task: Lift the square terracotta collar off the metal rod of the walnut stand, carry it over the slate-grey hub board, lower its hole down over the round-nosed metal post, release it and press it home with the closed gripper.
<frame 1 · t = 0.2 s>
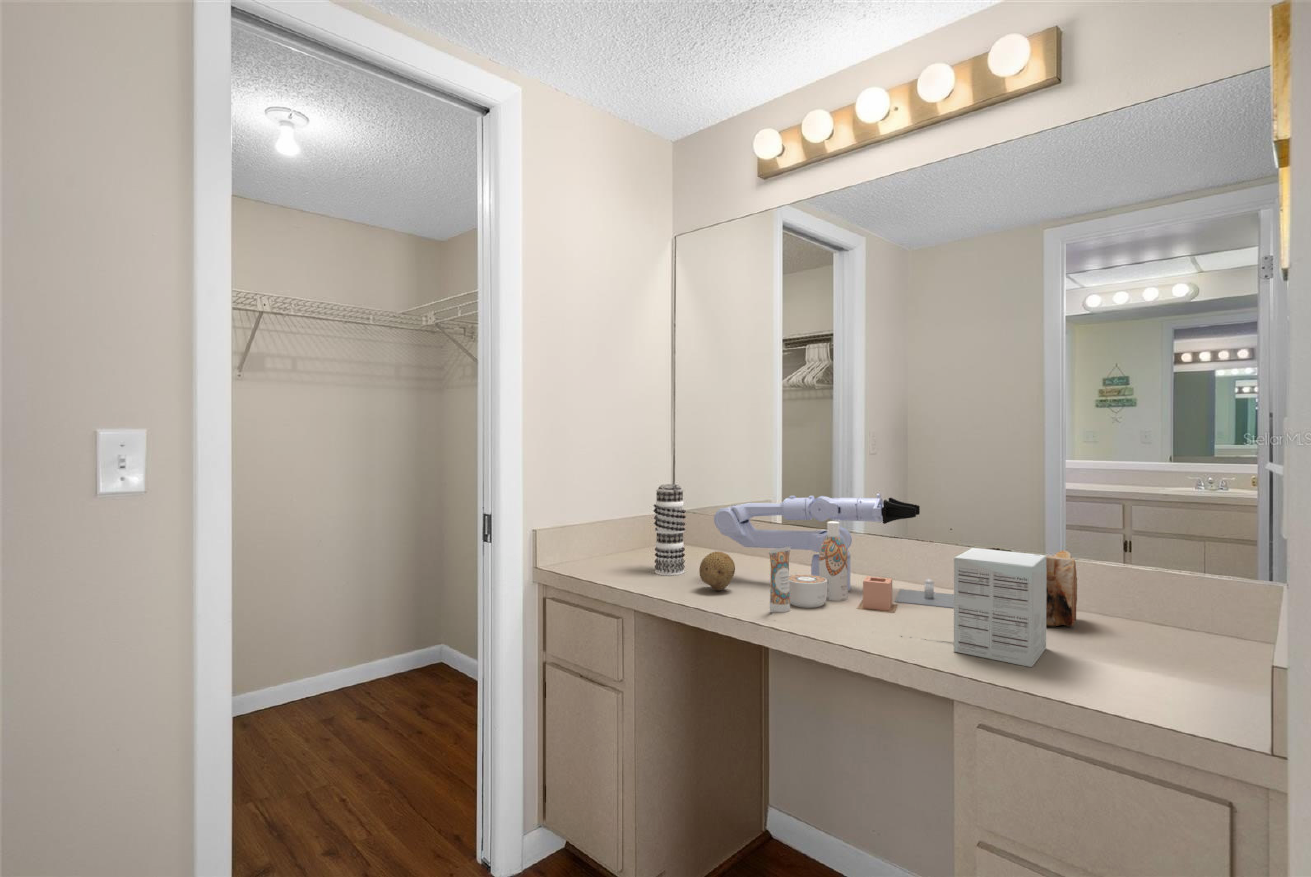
hand: (917, 511, 159), 21 cm above the counter, fingers open, 7 cm apart
decorative candle: (669, 573, 190), on the counter
stone: (1055, 624, 139), on the counter
hub board: (929, 602, 157), on the counter
walnut stand: (877, 609, 150), on the counter
terracotta collar: (877, 606, 150), point 1 cm above the counter, touching walnut stand
supplement box: (999, 651, 123), on the counter
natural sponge: (716, 591, 168), on the counter
cosmetic set: (807, 607, 153), on the counter
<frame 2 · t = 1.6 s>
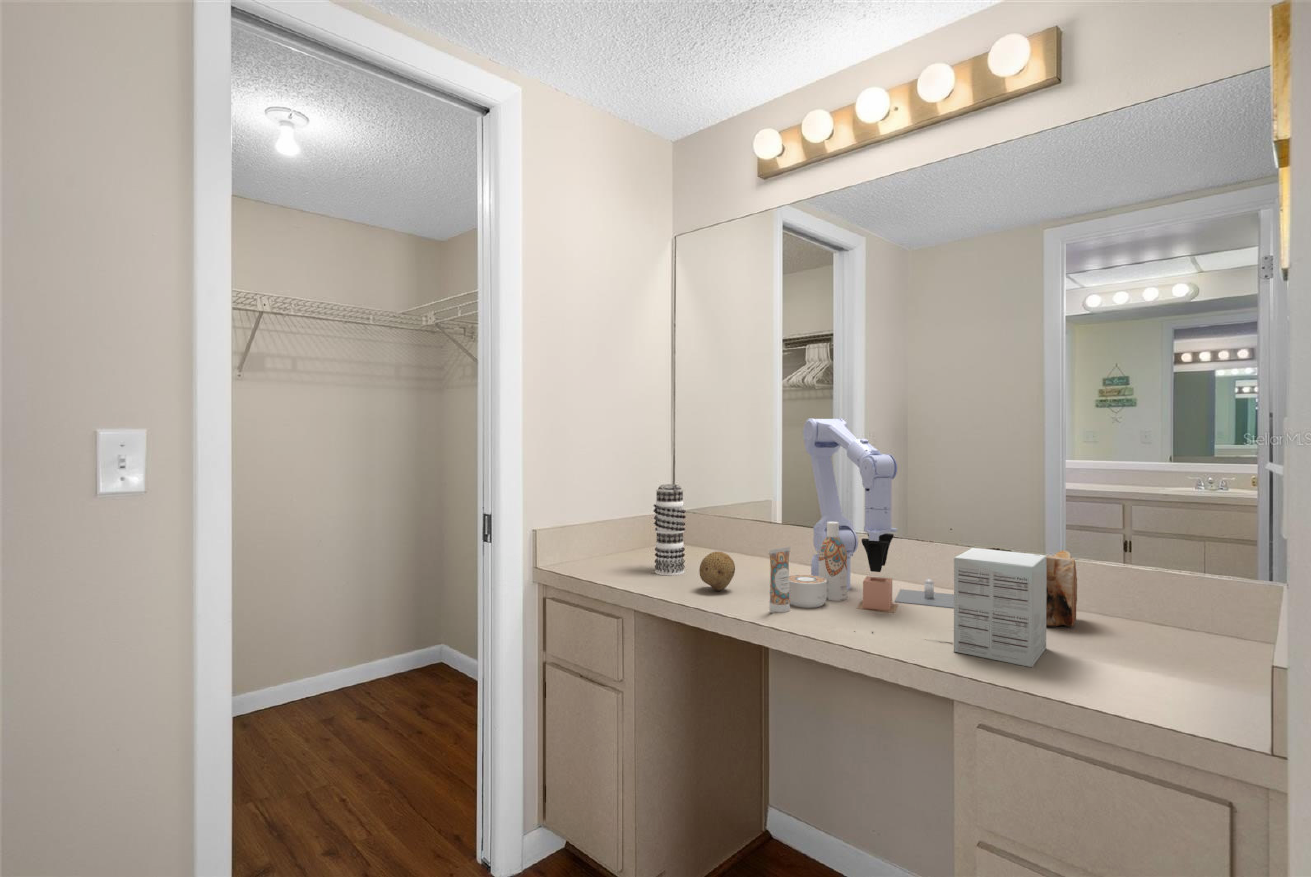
hand: (877, 568, 150), 9 cm above the counter, fingers open, 7 cm apart
nothing on the counter moved.
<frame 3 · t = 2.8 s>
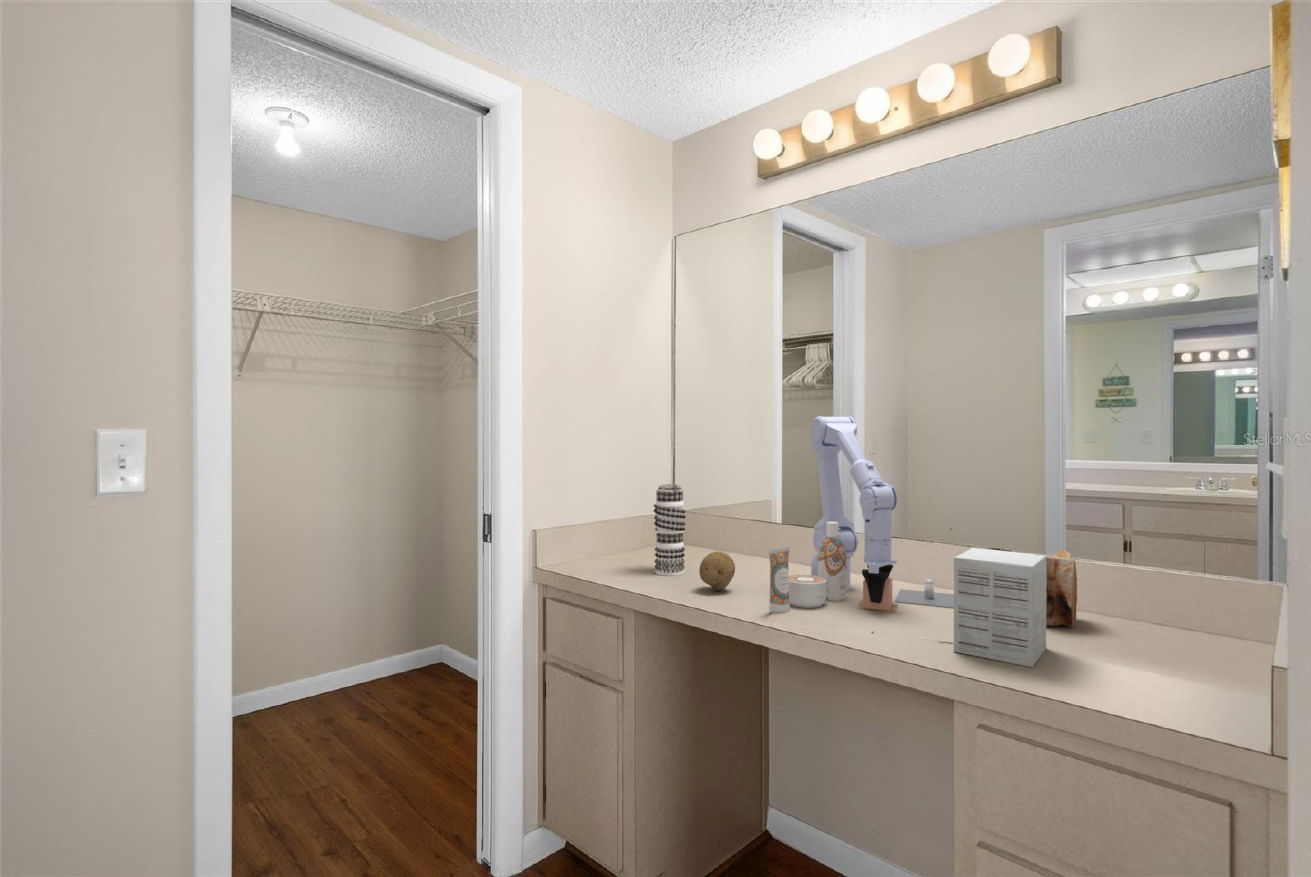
hand: (877, 599, 150), 2 cm above the counter, fingers closed on terracotta collar, 6 cm apart
terracotta collar: (877, 606, 150), point 1 cm above the counter, touching gripper, walnut stand
everything else where it was.
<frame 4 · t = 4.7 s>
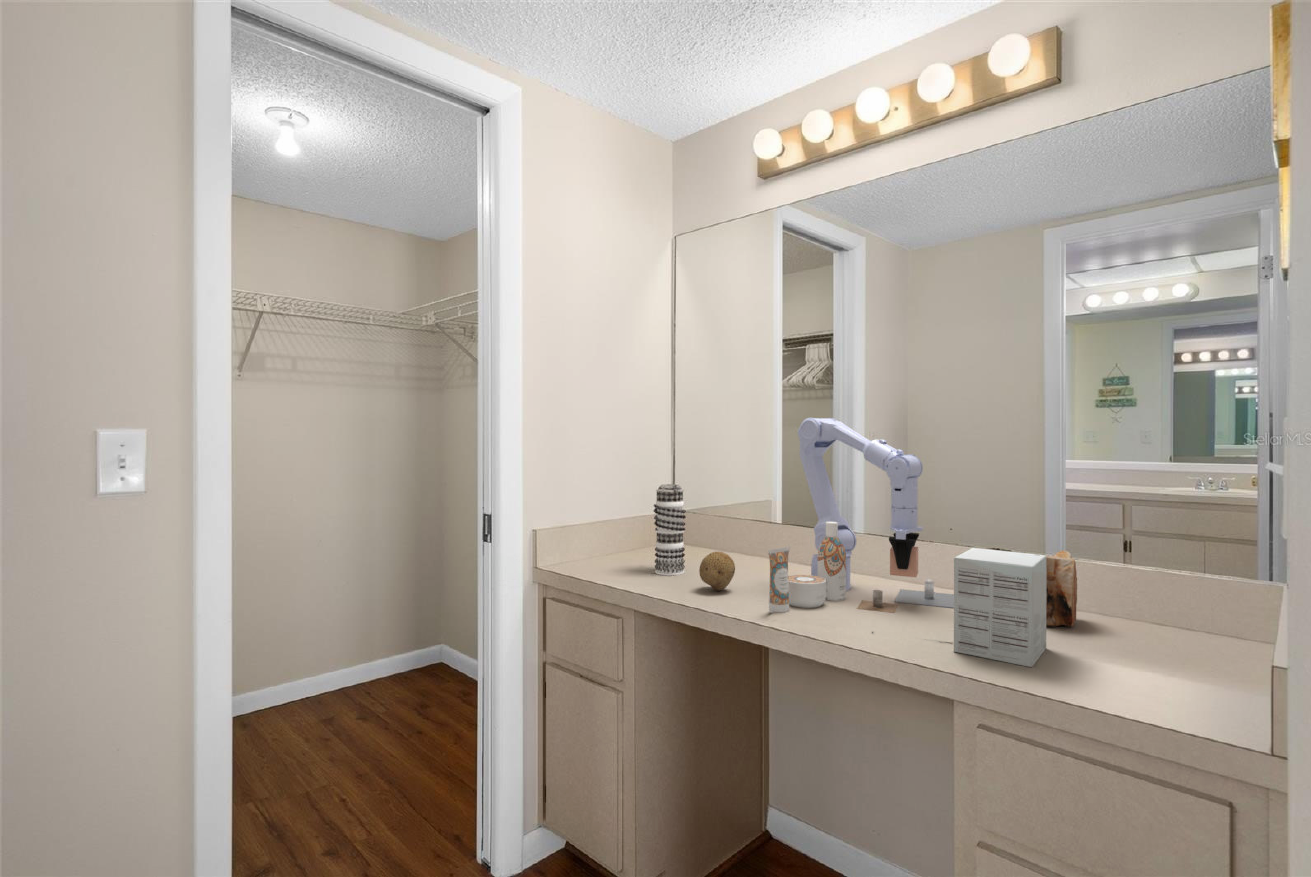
hand: (904, 566, 153), 9 cm above the counter, fingers closed on terracotta collar, 6 cm apart
terracotta collar: (904, 573, 153), point 7 cm above the counter, touching gripper
everything else where it was.
when the fingers open (4 cm above the counter, at t = 6.6 s): terracotta collar drops 1 cm, resting on hub board.
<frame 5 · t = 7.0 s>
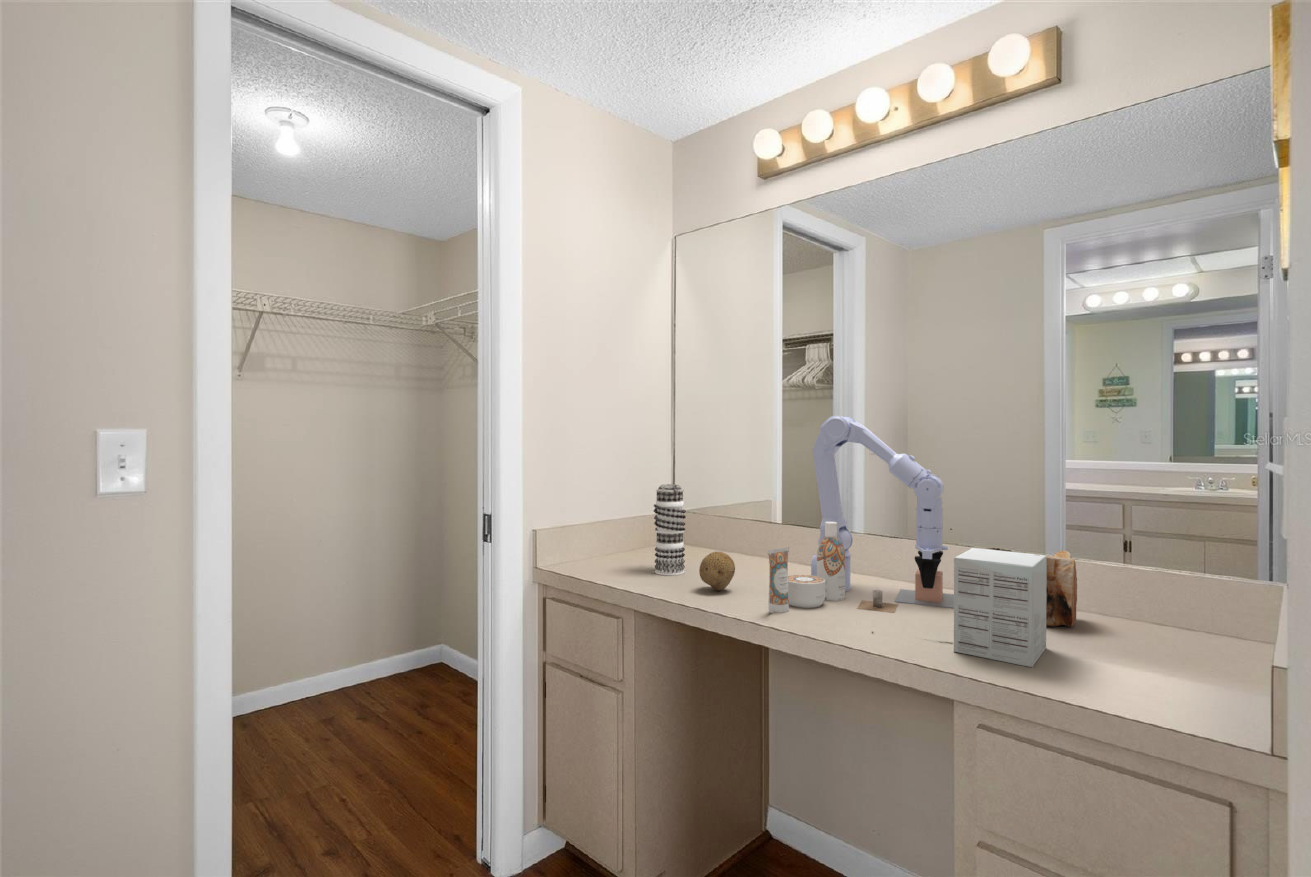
hand: (929, 584, 157), 4 cm above the counter, fingers open, 7 cm apart
terracotta collar: (929, 598, 157), point 1 cm above the counter, touching hub board
everything else where it was.
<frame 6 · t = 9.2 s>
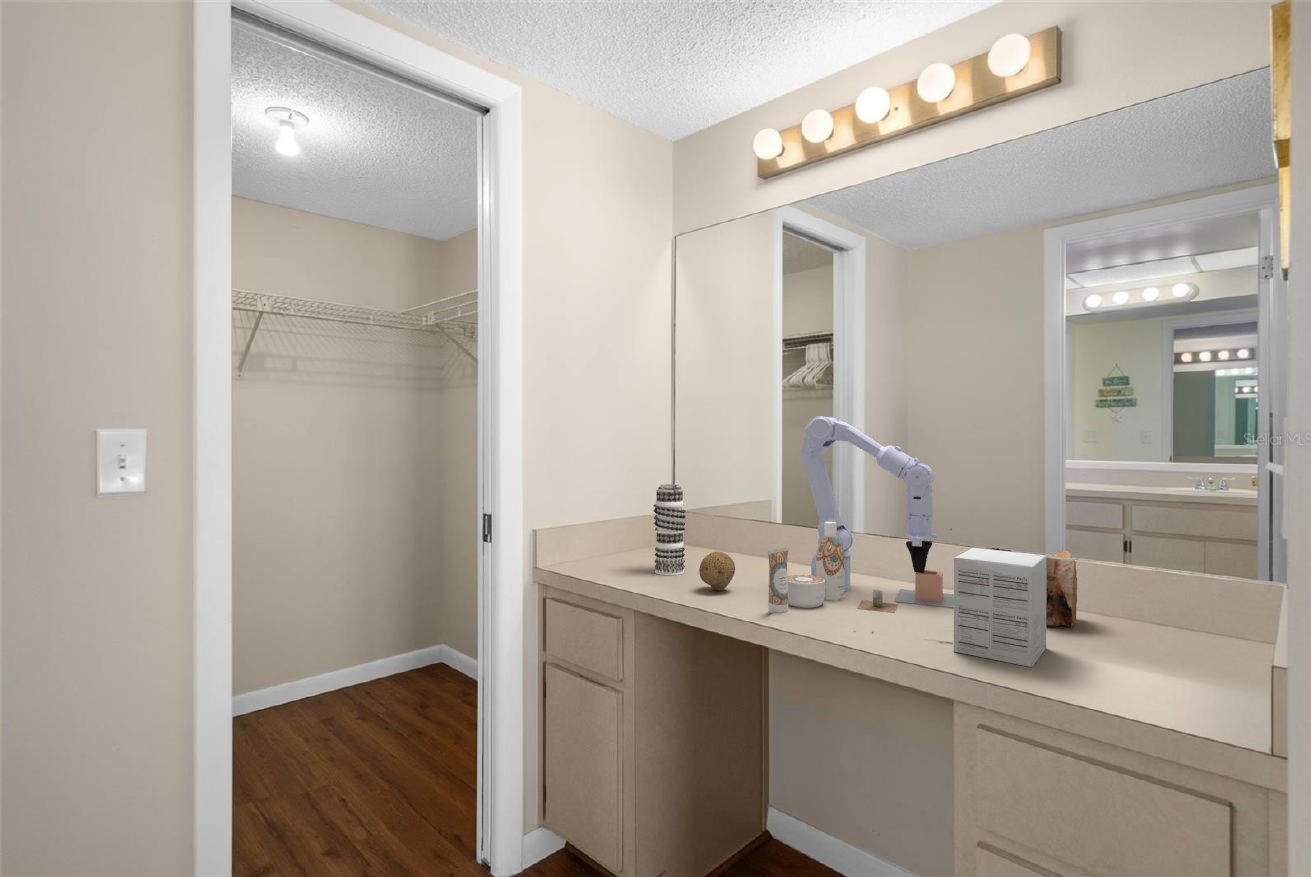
hand: (919, 572, 158), 7 cm above the counter, fingers closed, pressing on terracotta collar
terracotta collar: (929, 598, 157), point 1 cm above the counter, touching gripper, hub board
everything else where it was.
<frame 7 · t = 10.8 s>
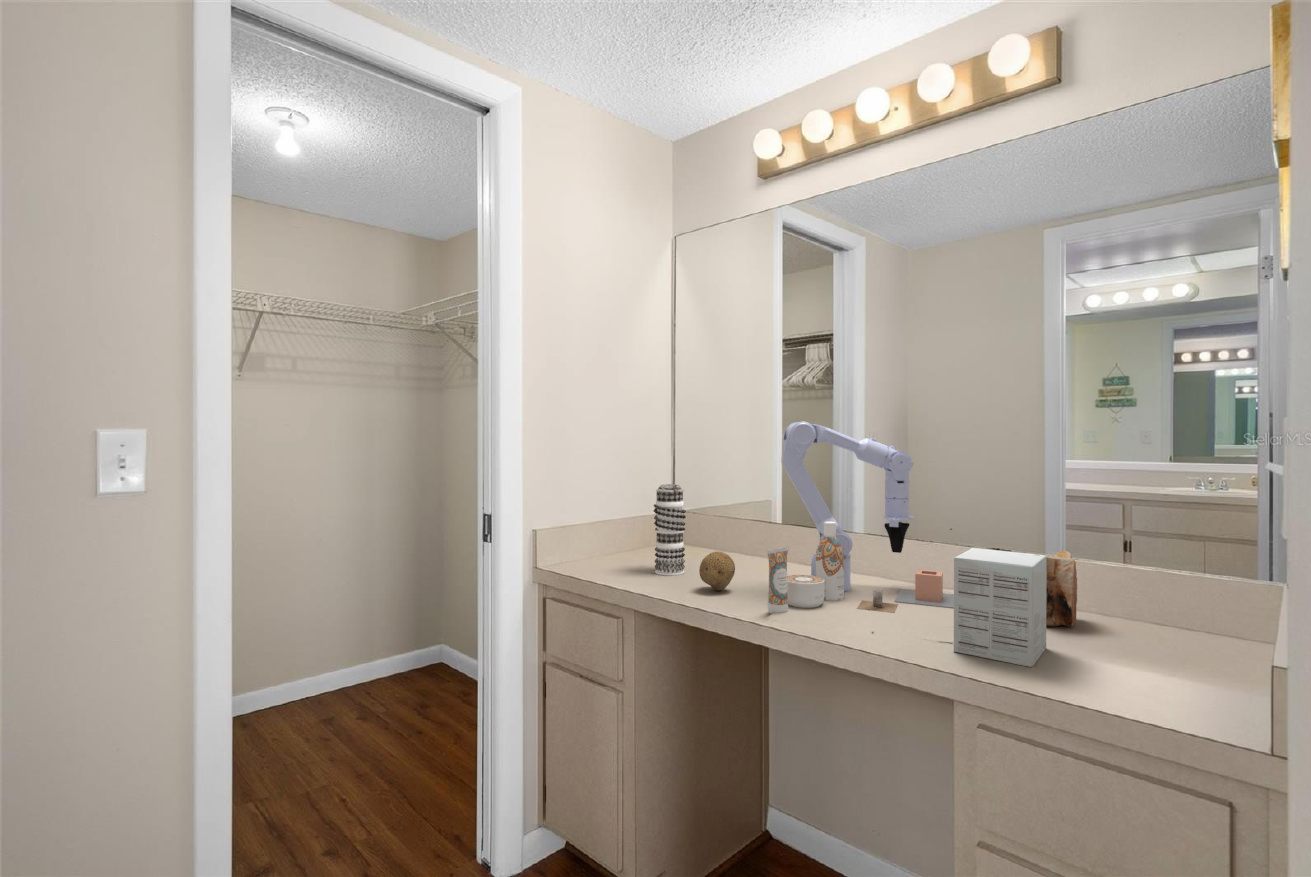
hand: (896, 552, 167), 10 cm above the counter, fingers closed
terracotta collar: (929, 598, 157), point 1 cm above the counter, touching hub board
everything else where it was.
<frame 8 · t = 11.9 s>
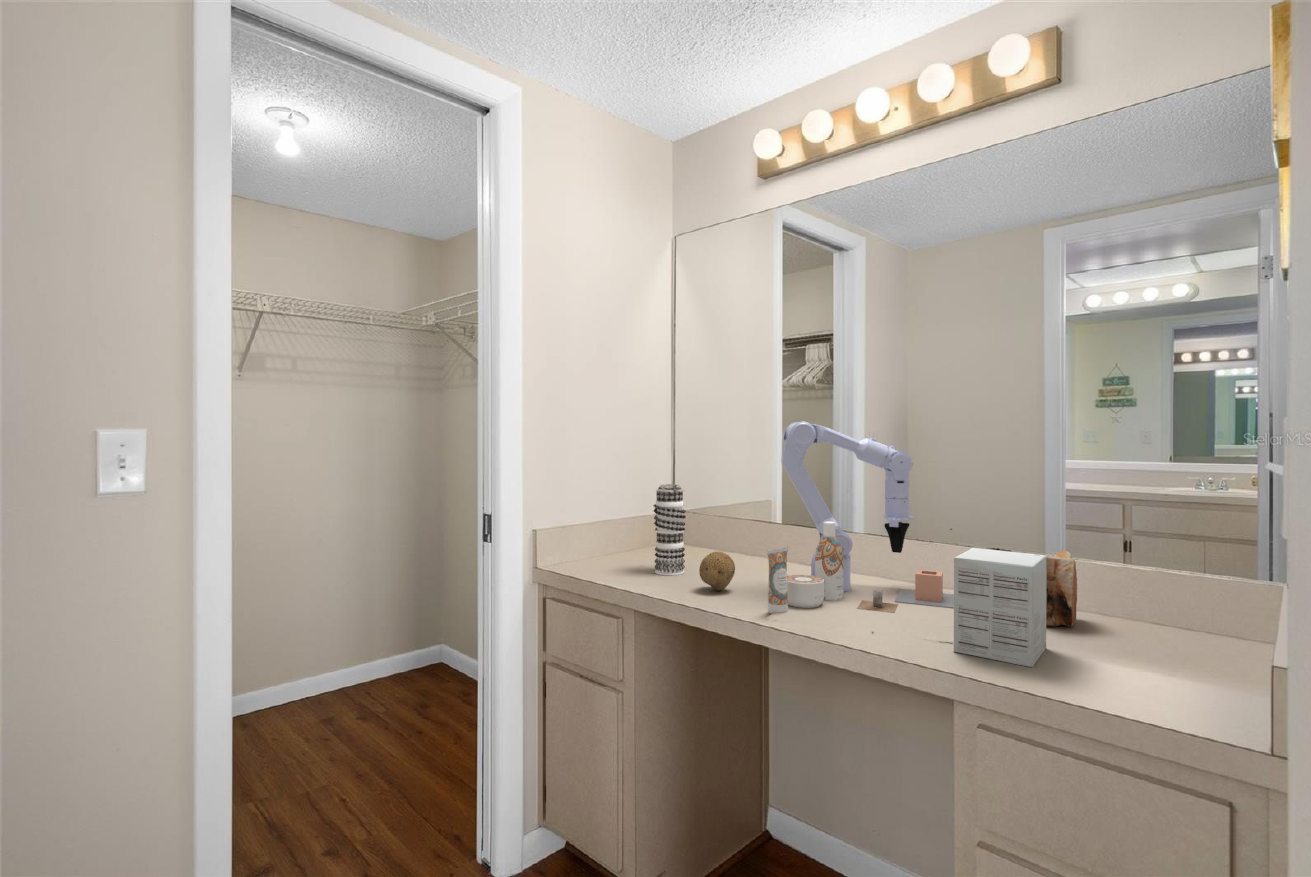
hand: (896, 552, 167), 10 cm above the counter, fingers closed
nothing on the counter moved.
at the end: terracotta collar 0.0 cm off-centre on the hub board, point 1.0 cm above the hub board's base; terracotta collar tilted 0°; the gripper is holding nothing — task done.
